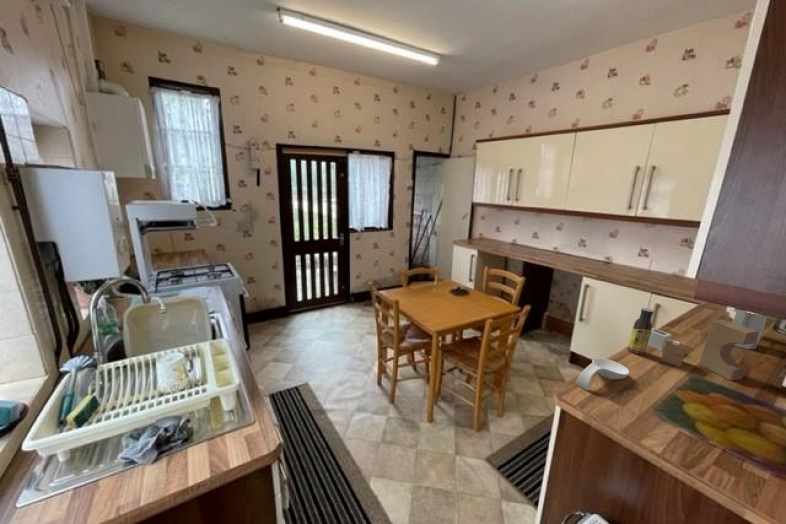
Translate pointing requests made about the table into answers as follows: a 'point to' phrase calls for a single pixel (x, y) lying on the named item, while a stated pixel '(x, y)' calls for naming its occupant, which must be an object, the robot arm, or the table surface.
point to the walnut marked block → (673, 352)
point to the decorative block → (725, 348)
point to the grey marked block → (658, 339)
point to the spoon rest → (601, 372)
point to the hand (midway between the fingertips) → (741, 295)
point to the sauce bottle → (641, 332)
